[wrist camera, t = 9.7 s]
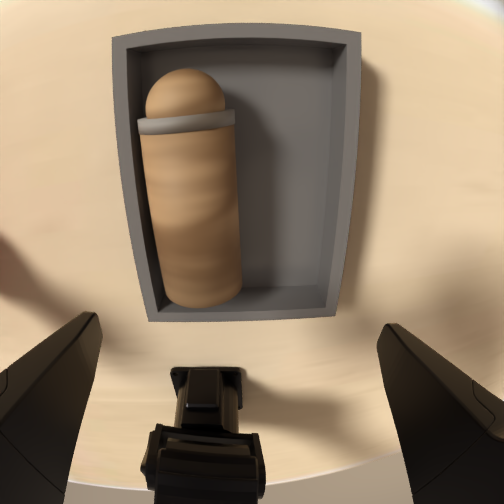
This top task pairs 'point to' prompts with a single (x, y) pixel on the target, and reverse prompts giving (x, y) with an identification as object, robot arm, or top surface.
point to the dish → (256, 158)
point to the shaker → (192, 188)
